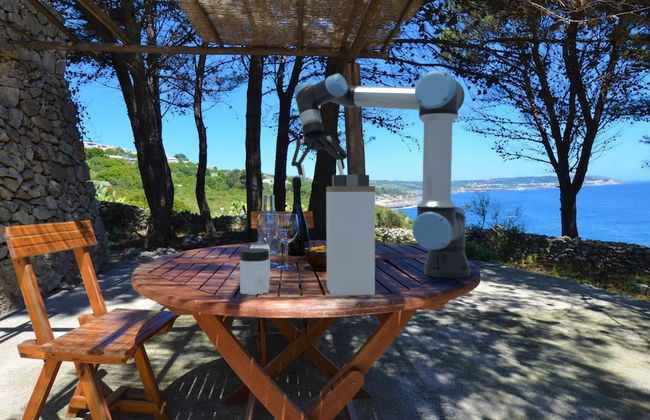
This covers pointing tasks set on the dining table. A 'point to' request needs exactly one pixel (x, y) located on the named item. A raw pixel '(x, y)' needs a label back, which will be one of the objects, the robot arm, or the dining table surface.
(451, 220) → the robot arm
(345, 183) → the t handle
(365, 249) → the stand
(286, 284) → the dining table surface
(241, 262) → the jar
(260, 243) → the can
